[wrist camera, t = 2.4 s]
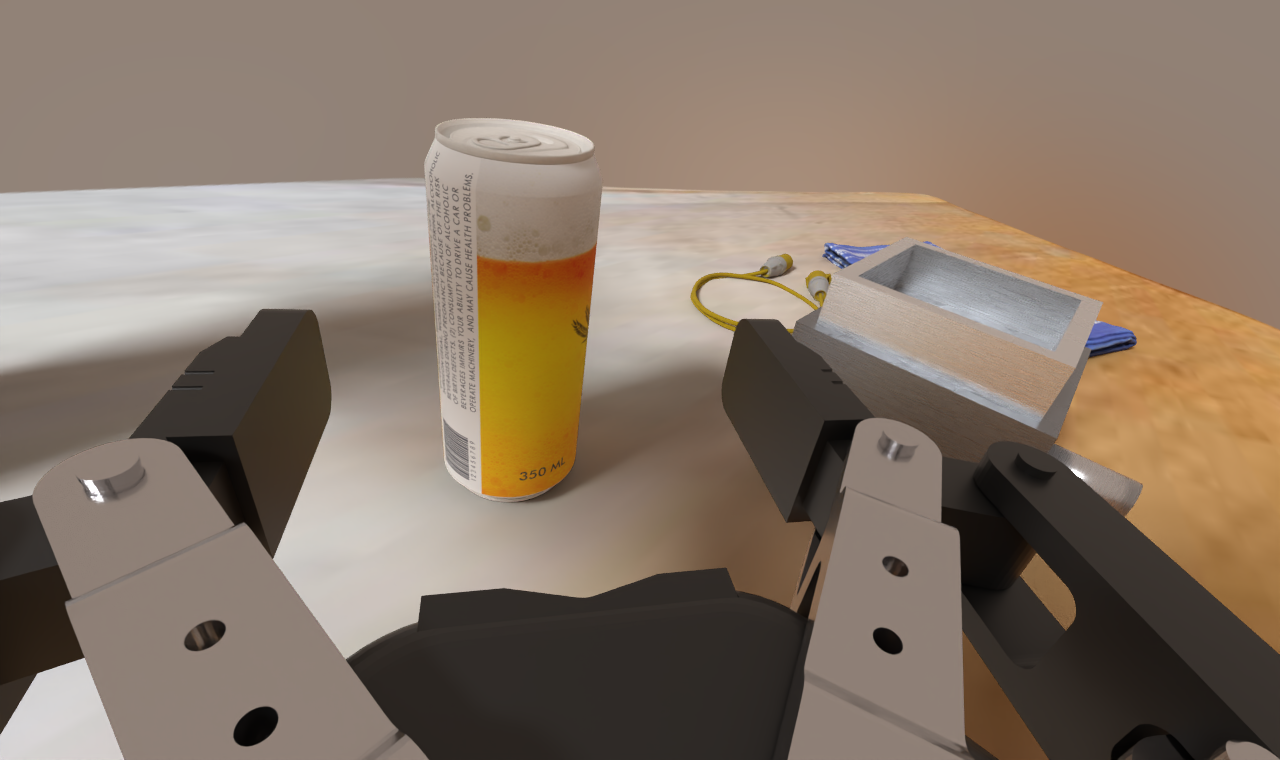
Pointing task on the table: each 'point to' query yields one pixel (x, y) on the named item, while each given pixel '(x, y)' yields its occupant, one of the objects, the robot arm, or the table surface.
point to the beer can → (511, 298)
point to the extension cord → (773, 267)
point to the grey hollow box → (961, 353)
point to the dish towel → (1101, 335)
